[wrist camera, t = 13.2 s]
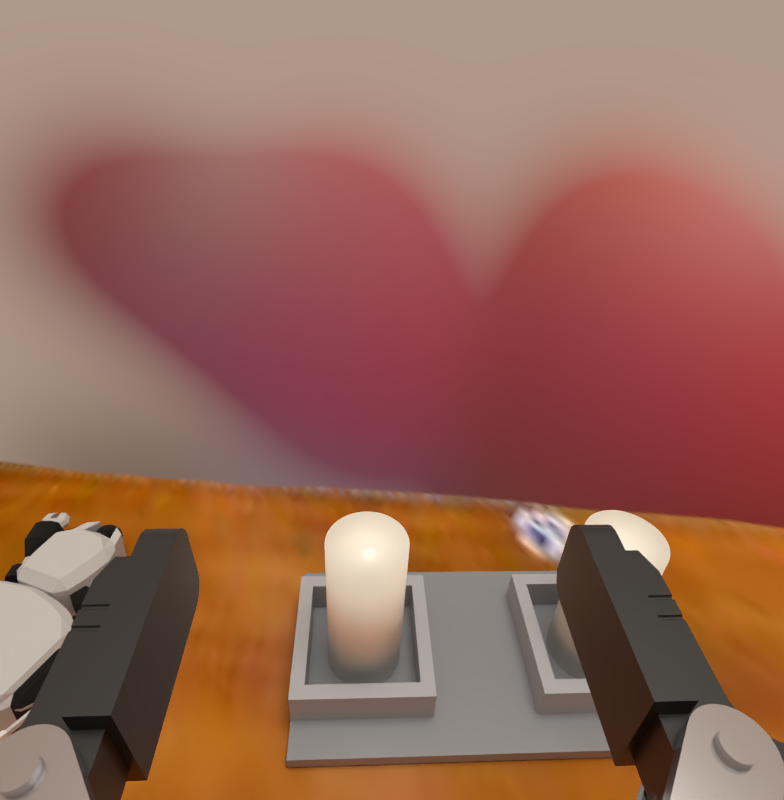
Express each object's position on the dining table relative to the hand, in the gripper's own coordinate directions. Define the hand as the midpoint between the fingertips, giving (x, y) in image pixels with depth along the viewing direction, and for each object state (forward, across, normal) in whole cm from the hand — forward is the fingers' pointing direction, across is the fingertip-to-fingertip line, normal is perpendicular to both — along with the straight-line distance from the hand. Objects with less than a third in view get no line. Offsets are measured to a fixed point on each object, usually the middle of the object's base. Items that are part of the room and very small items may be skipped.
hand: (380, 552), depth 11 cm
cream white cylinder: (+11, 0, +23) cm, 25 cm away
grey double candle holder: (+11, -6, +24) cm, 27 cm away
